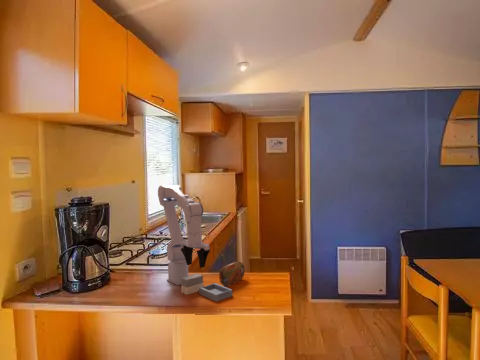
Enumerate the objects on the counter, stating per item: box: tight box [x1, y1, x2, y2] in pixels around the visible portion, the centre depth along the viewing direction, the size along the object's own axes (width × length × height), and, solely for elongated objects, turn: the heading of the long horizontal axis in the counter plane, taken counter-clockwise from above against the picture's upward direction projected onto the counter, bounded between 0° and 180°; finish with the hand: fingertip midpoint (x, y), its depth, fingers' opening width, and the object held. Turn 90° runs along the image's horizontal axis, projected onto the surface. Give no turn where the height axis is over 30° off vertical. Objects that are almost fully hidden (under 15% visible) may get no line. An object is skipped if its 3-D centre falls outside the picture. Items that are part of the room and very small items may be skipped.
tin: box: [218, 261, 246, 287], centre depth 152 cm, size 15×3×8 cm, turn 143°
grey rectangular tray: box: [198, 282, 233, 302], centre depth 138 cm, size 11×8×2 cm
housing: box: [180, 273, 204, 296], centre depth 143 cm, size 4×8×6 cm, turn 132°
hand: (195, 265), depth 142 cm, fingers open, 7 cm apart
